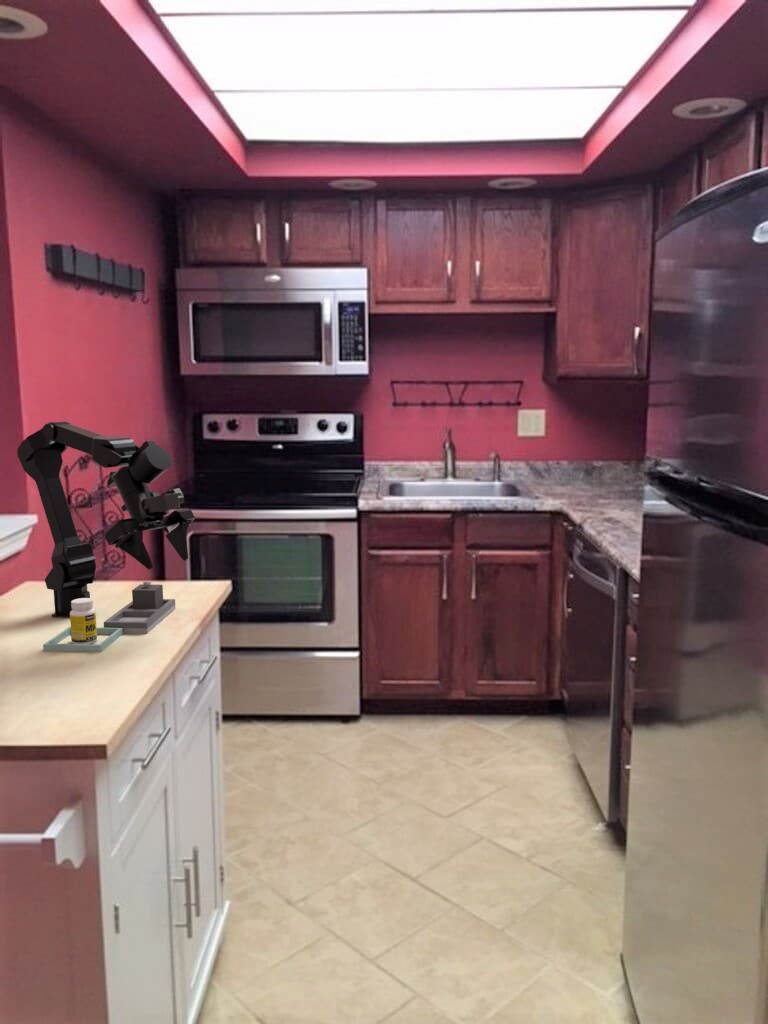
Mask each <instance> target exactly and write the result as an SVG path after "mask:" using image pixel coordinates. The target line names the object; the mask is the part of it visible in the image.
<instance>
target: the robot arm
mask: <svg viewBox="0 0 768 1024" xmlns="http://www.w3.org/2000/svg"><path fill="white" fill-rule="evenodd" d="M69 448H72V449H74V450H77V451H80V452H82V453H84V454H88V455H89V456H91V459H92V461H93V462H94V463H96V464H98V465H99V466H100V467H102V468H105V469H109V468H110V469H111V468H118V467H120V468H119V469H118V470H116V471H111V472H109V476H108V478H107V481H106V484H107V486H108V487H110V486H116V489H117V491H118V493H119V495H120V498H121V499H122V502H123V505H122V506H121V507H120V508H121V510H122V512H127V513H128V514H129V518H124V519H119V520H116V522H115V523H114V524H113V525H111V526H110V527H109V528H107V529H106V530H105V534H104V535H105V537H104V538H105V540H106V542H107V545H108V546H113V545H114V547H115V548H116V549H120V550H122V551H123V552H125V553H126V554H128V555H129V556H131V557H132V558H134V560H135V561H138V563H140V564H141V565H142V566H143V567H144V568H146V569H147V570H149V571H150V570H152V569H153V568H154V564H153V562H152V559H151V557H150V554H149V553H148V550H147V547H146V545H145V543H144V539H143V538H144V532H149V531H154V530H160V529H163V530H162V531H164V532H165V533H167V534H166V535H165V538H167V540H168V542H169V543H170V544H171V546H172V547H173V549H174V550H175V552H176V553H177V554H178V555H179V557H180V558H181V559H182V560H183V562H185V561H187V560H189V553H188V542H187V539H188V538H187V532H188V528H189V527H190V526H191V525H192V523H193V521H194V520H195V519H196V517H195V515H194V513H193V511H192V509H189V508H187V507H186V508H181V504H184V503H185V497H184V493H183V492H182V490H181V489H180V487H178V488H172V489H167V494H161V495H160V494H159V492H158V491H156V490H151V488H150V486H149V484H151V483H153V482H154V481H155V482H156V480H157V479H158V478H159V477H161V476H162V475H163V474H164V473H165V472H166V471H168V470H169V468H171V466H172V463H173V462H172V461H173V460H172V457H171V455H170V453H169V452H167V450H166V449H165V448H163V447H162V446H160V445H158V444H157V443H156V442H155V440H154V439H153V440H152V439H151V440H145V441H144V442H143V443H142V444H141V446H139V445H137V444H135V441H134V440H133V438H131V437H128V436H116V435H113V436H112V435H111V436H105V435H101V434H98V433H96V432H93V431H90V430H89V429H88V430H87V429H86V428H85V429H84V428H82V427H79V426H76V425H73V424H72V423H70V422H68V421H66V420H65V421H63V420H62V421H50V422H48V423H45V424H44V425H43V426H42V428H40V429H39V430H37V431H35V432H34V433H32V434H30V435H29V436H27V437H26V438H25V439H23V440H22V441H21V442H20V444H19V445H18V447H17V450H16V453H17V458H18V460H19V463H20V464H21V466H22V468H23V471H24V473H26V474H27V475H28V476H29V477H30V478H32V480H34V482H35V485H36V488H37V490H38V493H39V498H40V500H41V504H42V507H43V510H44V514H45V517H46V519H47V520H46V521H47V522H48V523H47V524H48V526H49V529H50V533H51V536H52V540H53V543H54V545H53V546H54V547H53V551H52V554H51V558H50V561H51V565H52V568H50V570H49V572H48V573H47V575H46V577H45V578H44V583H45V586H46V589H48V590H51V591H53V600H54V612H53V613H52V614H51V617H52V618H70V612H71V611H72V610H73V609H72V607H71V601H72V600H75V599H79V598H91V592H90V591H88V585H89V584H93V583H94V580H95V573H96V569H97V563H96V561H97V558H96V557H95V554H94V550H93V547H92V544H91V543H90V542H84V541H83V540H82V539H80V537H79V535H78V532H77V529H76V525H75V522H74V519H73V515H72V512H71V509H70V506H69V503H68V499H67V496H66V493H65V489H64V487H63V486H64V485H63V483H62V480H61V477H60V472H61V469H62V466H63V463H64V460H63V456H62V455H63V454H64V452H65V451H67V449H69ZM175 509H176V510H175ZM171 510H173V511H172V512H171V513H170V511H171ZM166 515H167V516H166ZM164 516H166V517H164Z"/></svg>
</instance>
